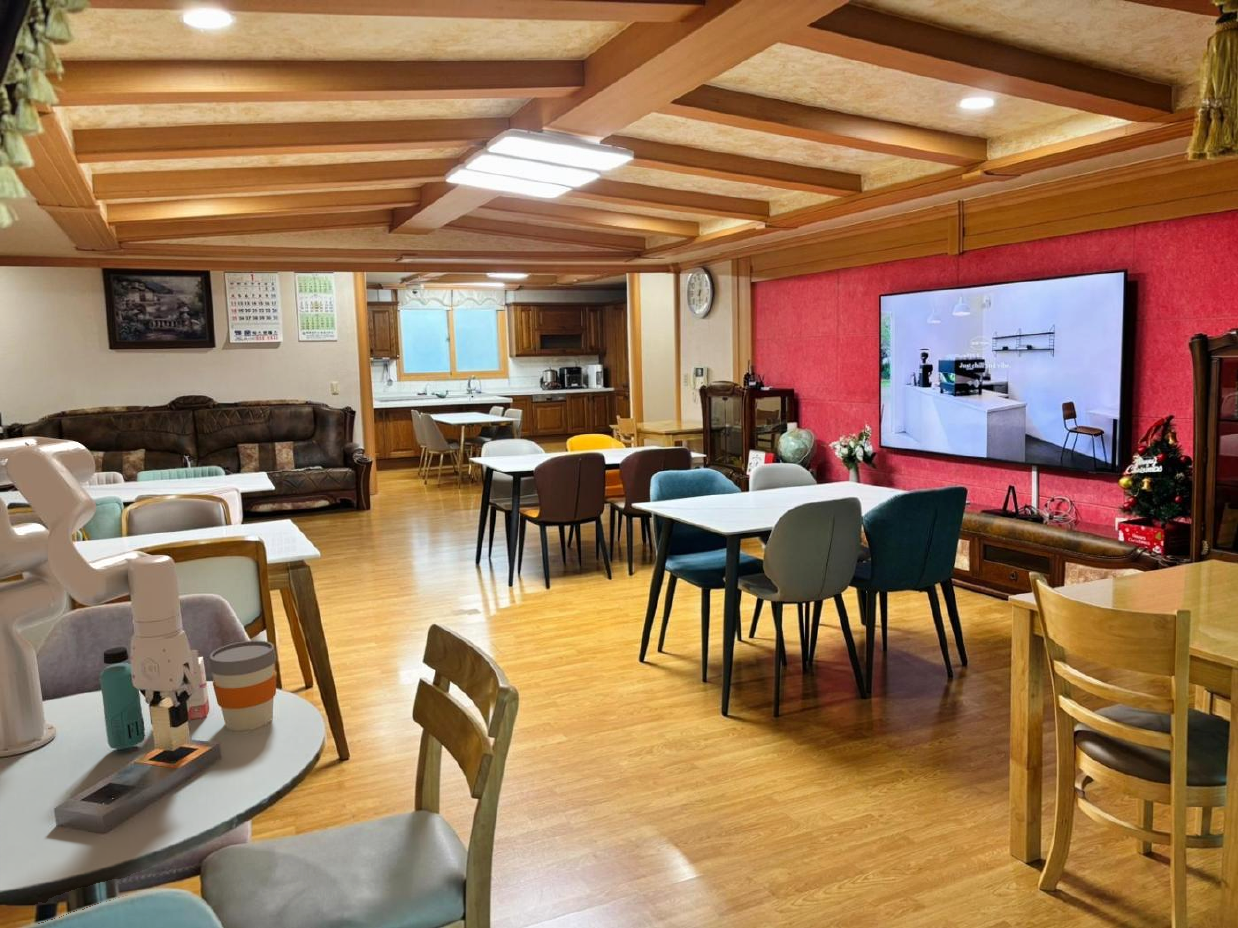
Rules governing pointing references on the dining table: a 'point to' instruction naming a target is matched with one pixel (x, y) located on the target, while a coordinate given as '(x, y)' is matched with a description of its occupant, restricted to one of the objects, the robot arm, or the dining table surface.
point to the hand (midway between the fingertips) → (170, 722)
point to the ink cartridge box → (199, 698)
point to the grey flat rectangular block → (135, 787)
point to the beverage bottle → (121, 701)
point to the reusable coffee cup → (245, 683)
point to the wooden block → (167, 727)
